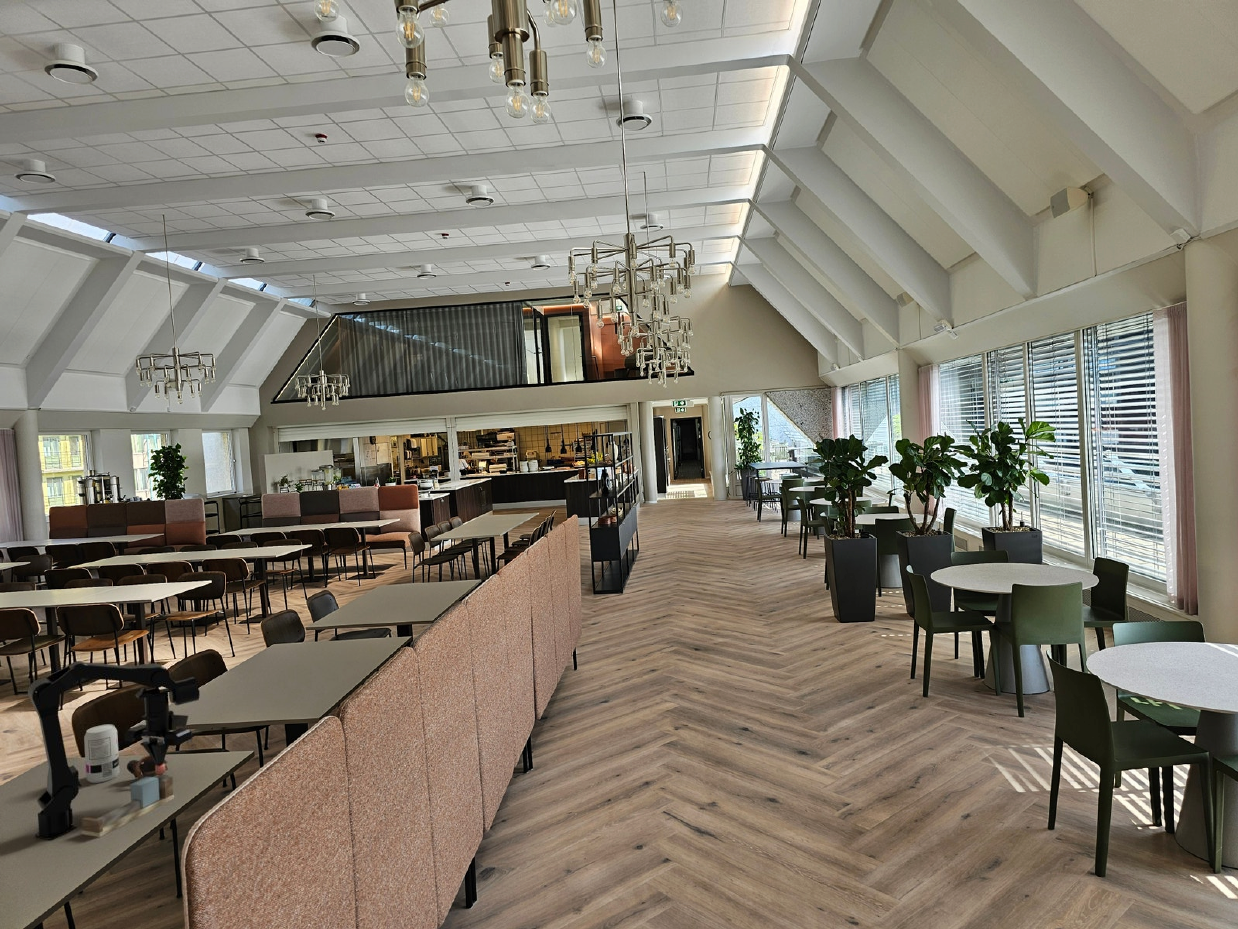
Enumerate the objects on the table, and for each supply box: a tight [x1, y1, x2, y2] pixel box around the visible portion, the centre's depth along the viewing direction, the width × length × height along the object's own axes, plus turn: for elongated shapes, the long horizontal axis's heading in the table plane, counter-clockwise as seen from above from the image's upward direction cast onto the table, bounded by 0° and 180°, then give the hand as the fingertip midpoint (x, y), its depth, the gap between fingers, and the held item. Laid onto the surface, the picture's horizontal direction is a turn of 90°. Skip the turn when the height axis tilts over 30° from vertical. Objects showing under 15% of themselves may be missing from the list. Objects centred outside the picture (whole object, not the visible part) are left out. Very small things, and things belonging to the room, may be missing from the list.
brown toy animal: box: [126, 754, 169, 781], centre depth 228 cm, size 12×10×8 cm
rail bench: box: [81, 774, 175, 838], centre depth 206 cm, size 23×6×6 cm, turn 163°
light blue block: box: [129, 777, 159, 808], centre depth 210 cm, size 5×4×6 cm
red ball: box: [155, 763, 167, 775], centre depth 215 cm, size 2×2×2 cm
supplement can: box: [83, 723, 120, 784], centre depth 231 cm, size 8×8×15 cm
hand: (160, 765), depth 215 cm, fingers closed, pressing on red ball
